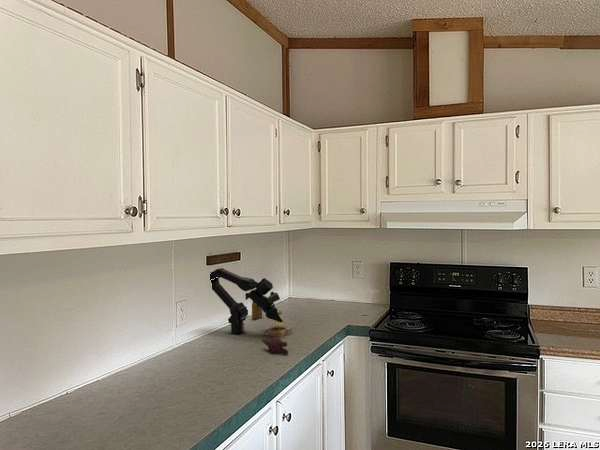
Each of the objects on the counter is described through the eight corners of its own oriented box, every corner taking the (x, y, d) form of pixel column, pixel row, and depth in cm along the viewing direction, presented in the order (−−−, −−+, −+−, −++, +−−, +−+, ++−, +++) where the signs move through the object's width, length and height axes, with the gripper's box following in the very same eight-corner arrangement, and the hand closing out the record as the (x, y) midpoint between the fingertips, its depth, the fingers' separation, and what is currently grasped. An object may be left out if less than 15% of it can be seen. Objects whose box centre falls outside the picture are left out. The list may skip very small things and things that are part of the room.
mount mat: (274, 332, 222) (274, 332, 222) (261, 330, 227) (261, 329, 227) (284, 328, 229) (284, 328, 229) (271, 326, 234) (271, 325, 234)
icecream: (255, 337, 192) (281, 346, 183) (266, 329, 198) (291, 337, 189) (257, 350, 194) (283, 360, 185) (268, 343, 199) (293, 351, 191)
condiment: (258, 316, 258) (258, 297, 258) (266, 319, 251) (266, 299, 251) (248, 318, 253) (248, 298, 253) (256, 321, 247) (256, 300, 247)
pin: (279, 336, 216) (279, 312, 215) (272, 335, 218) (272, 311, 218) (284, 334, 219) (284, 310, 219) (277, 332, 222) (277, 310, 221)
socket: (281, 338, 212) (281, 332, 212) (265, 335, 217) (265, 329, 217) (292, 333, 220) (292, 327, 220) (276, 330, 226) (276, 325, 225)
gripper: (272, 291, 208) (294, 312, 210) (268, 285, 227) (289, 304, 229) (256, 307, 207) (279, 329, 209) (254, 300, 225) (275, 319, 228)
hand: (281, 319), depth 219 cm, fingers open, 8 cm apart
